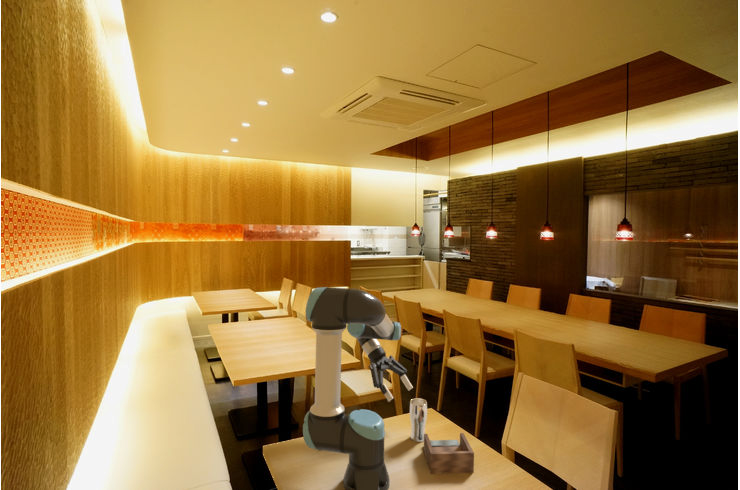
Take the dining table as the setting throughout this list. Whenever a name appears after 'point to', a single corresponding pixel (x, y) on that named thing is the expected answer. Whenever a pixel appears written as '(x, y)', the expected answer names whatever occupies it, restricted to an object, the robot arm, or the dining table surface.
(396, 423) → the dining table surface
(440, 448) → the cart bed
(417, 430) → the beer glass
